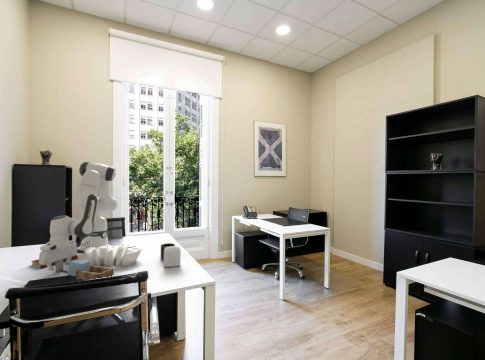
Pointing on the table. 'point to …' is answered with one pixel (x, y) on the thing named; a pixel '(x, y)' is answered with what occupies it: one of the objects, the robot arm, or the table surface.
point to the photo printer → (172, 256)
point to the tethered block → (73, 266)
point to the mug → (164, 248)
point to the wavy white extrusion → (112, 255)
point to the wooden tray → (95, 273)
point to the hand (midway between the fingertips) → (59, 267)
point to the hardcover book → (37, 264)
